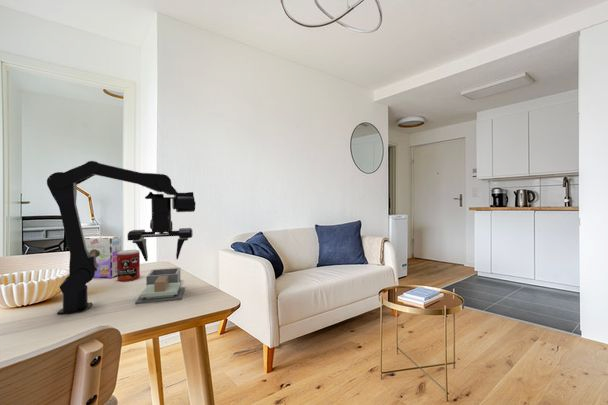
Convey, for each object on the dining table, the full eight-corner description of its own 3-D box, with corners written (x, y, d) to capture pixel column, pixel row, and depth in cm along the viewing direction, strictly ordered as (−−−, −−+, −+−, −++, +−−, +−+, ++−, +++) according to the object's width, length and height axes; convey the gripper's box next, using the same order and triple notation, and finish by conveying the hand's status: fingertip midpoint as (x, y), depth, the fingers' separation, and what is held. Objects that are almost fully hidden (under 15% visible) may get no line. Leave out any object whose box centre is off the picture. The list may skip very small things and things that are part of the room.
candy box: (121, 274, 124) (121, 235, 124) (111, 278, 118) (110, 237, 118) (91, 274, 125) (90, 235, 125) (79, 277, 120) (79, 237, 119)
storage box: (177, 288, 106) (177, 274, 105) (146, 290, 103) (146, 276, 102) (180, 280, 115) (180, 267, 115) (152, 282, 112) (151, 269, 112)
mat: (181, 299, 93) (181, 297, 93) (135, 304, 90) (135, 302, 90) (184, 288, 105) (184, 286, 105) (143, 292, 101) (143, 290, 101)
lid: (177, 297, 94) (177, 281, 94) (140, 300, 91) (140, 284, 91) (180, 287, 104) (180, 273, 104) (147, 290, 101) (147, 276, 101)
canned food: (114, 282, 113) (113, 253, 113) (121, 277, 121) (120, 250, 120) (136, 280, 115) (136, 252, 115) (142, 275, 123) (141, 249, 122)
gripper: (193, 211, 107) (193, 253, 108) (135, 212, 102) (136, 257, 102) (191, 212, 97) (191, 260, 97) (126, 214, 91) (127, 264, 91)
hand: (162, 260), depth 97 cm, fingers open, 9 cm apart
